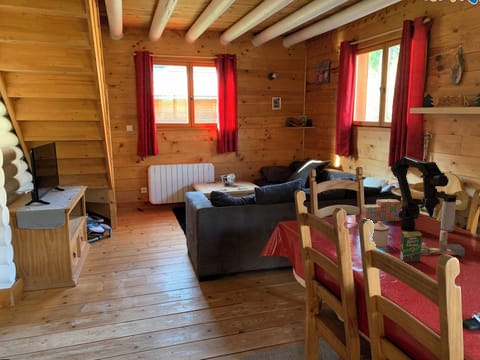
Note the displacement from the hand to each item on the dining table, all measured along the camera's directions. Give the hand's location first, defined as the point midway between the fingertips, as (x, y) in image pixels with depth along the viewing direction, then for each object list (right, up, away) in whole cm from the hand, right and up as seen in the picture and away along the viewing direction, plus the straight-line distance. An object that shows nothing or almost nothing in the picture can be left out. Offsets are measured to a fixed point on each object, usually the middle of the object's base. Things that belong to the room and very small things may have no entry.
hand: (431, 217), depth 185 cm
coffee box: (-22, -17, -24) cm, 37 cm away
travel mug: (+18, -9, +17) cm, 26 cm away
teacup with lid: (-30, -13, -3) cm, 33 cm away
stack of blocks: (-12, -6, +37) cm, 40 cm away
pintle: (-12, -15, -15) cm, 24 cm away
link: (-6, -15, -17) cm, 23 cm away
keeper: (+1, -16, -18) cm, 24 cm away
